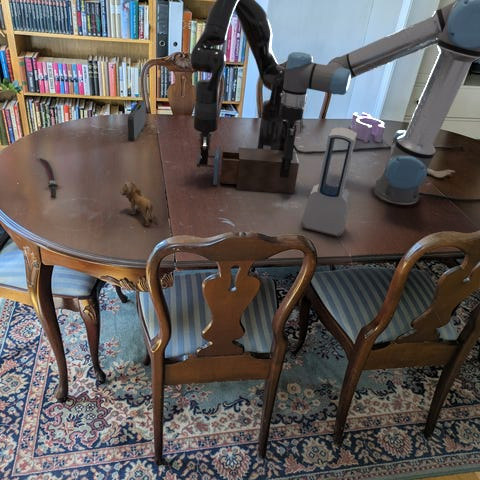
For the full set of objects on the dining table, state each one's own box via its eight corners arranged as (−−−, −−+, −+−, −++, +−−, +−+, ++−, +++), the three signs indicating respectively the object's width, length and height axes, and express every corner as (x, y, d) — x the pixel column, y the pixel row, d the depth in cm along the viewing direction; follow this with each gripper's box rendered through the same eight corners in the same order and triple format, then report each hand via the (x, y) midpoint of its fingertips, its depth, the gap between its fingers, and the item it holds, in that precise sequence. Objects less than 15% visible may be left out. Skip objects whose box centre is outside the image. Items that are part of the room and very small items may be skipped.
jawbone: (446, 183, 178) (448, 178, 177) (396, 166, 188) (397, 162, 187) (454, 175, 183) (456, 170, 182) (405, 159, 194) (406, 154, 193)
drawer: (195, 183, 156) (196, 157, 151) (197, 172, 163) (198, 147, 158) (267, 188, 157) (271, 163, 152) (265, 177, 165) (269, 152, 160)
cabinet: (236, 189, 157) (239, 158, 151) (235, 176, 165) (238, 147, 159) (294, 193, 158) (299, 163, 152) (290, 180, 166) (295, 151, 160)
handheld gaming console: (139, 121, 202) (139, 98, 197) (146, 122, 202) (145, 99, 197) (127, 140, 183) (126, 115, 178) (134, 141, 183) (133, 116, 178)
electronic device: (344, 227, 141) (368, 132, 125) (340, 239, 135) (365, 141, 119) (304, 217, 144) (322, 123, 128) (299, 229, 138) (317, 131, 122)
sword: (61, 197, 141) (61, 193, 140) (50, 198, 139) (50, 194, 139) (49, 160, 164) (48, 156, 163) (39, 160, 163) (39, 157, 162)
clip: (343, 126, 223) (346, 112, 219) (367, 127, 225) (371, 113, 221) (360, 142, 206) (364, 127, 202) (386, 142, 209) (390, 127, 205)
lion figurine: (118, 210, 138) (116, 182, 133) (132, 204, 141) (131, 177, 137) (151, 229, 130) (150, 201, 126) (165, 223, 134) (165, 195, 129)
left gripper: (195, 107, 153) (194, 156, 162) (193, 120, 142) (191, 172, 151) (218, 108, 153) (215, 157, 163) (217, 122, 142) (215, 174, 152)
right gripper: (277, 94, 156) (268, 156, 168) (284, 115, 137) (274, 184, 149) (299, 96, 156) (289, 157, 168) (309, 117, 137) (297, 185, 149)
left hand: (204, 165), depth 157 cm, fingers closed
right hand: (282, 170), depth 159 cm, fingers closed on cabinet, 10 cm apart
